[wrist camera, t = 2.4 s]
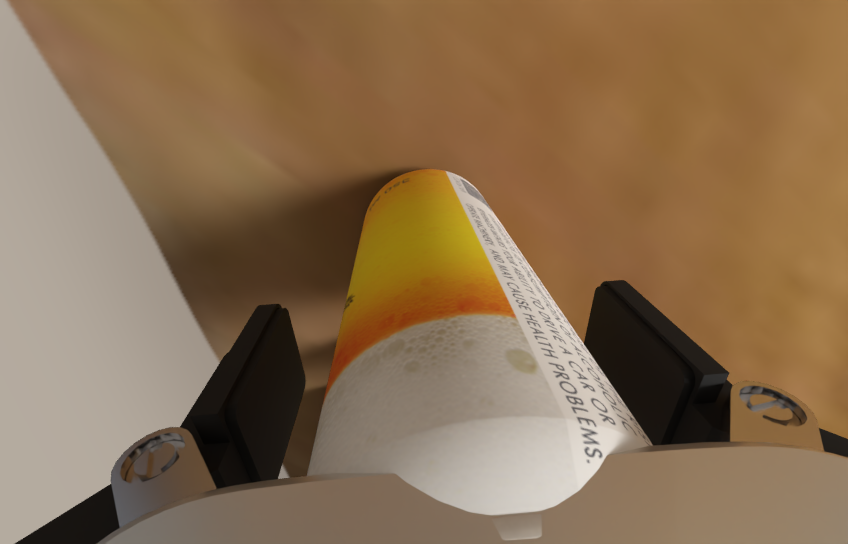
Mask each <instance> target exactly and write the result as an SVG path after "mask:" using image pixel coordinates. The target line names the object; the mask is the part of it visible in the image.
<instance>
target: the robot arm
mask: <svg viewBox="0 0 848 544" xmlns="http://www.w3.org/2000/svg"><path fill="white" fill-rule="evenodd" d="M584 345H585V347H586V348H587V350H588V351H589V352H590V354H591V355H592V357H593V358H594V360H595V361H596V363H597V364H598V366H599V367H600V369H601V370H602V371H603V373H604V374H605V376H606V377H607V379H608V380H609V382H610V383H611V385H612V386H613V387H614V389H615V390H616V392H617V393H618V395H619V396H620V398H621V399H622V401H623V402H624V404H625V405H626V406H627V408H628V409H629V411H630V412H631V414H632V415H633V417H634V418H635V420H636V421H637V422H638V424H639V425H640V427H641V428H642V430H643V431H644V433H645V434H646V436H647V437H648V439H649V440H650V441H651V443H652V444H653V446H646V447H642V448H637V449H633V450H628V451H624V452H620V453H615V454H610V455H607V456H606V458H605V459H604V461H603V463H602V465H601V466H600V468H599V469H598V470H597V472H596V473H595V474H594V475H593V476H592V477H591V478H590V479H589V480H588V481H587V483H586V484H585V485H584V486H583V487H582V488H581V489H580V490H579V491H578V492H576V493H575V494H573V495H572V496H570V497H569V498H567V499H566V500H564V501H562V502H561V503H559V504H558V505H556V506H554V507H551V508H548V509H545V510H542V511H535V512H527V513H516V514H505V515H485V514H479V513H472V512H468V511H465V510H463V509H460V508H457V507H454V506H452V505H449V504H446V503H443V502H440V501H438V500H436V499H434V498H433V497H431V496H429V495H427V494H426V493H424V492H422V491H420V490H419V489H417V488H415V487H414V486H412V485H410V484H408V483H407V482H405V481H404V480H403V479H402V478H400V477H399V476H398V475H397V474H378V473H330V474H321V475H312V476H303V477H293V478H284V479H278V476H279V473H280V469H281V466H282V463H283V459H284V456H285V453H286V449H287V446H288V442H289V439H290V436H291V432H292V429H293V426H294V422H295V419H296V416H297V412H298V409H299V406H300V402H301V399H302V396H303V392H304V389H305V381H306V380H305V373H304V370H303V366H302V362H301V358H300V354H299V350H298V347H297V343H296V339H295V335H294V331H293V328H292V324H291V320H290V316H289V312H288V310H287V309H286V308H282V307H281V306H280V305H279V304H269V305H259V306H257V308H256V309H255V311H254V312H253V314H252V316H251V317H250V319H249V321H248V322H247V324H246V325H245V327H244V329H243V330H242V332H241V334H240V335H239V337H238V338H237V340H236V342H235V343H234V345H233V347H232V348H231V350H230V352H228V353H227V354H226V355H225V356H224V357H223V359H222V360H221V362H220V364H219V365H218V367H217V369H216V370H215V372H214V373H213V375H212V377H211V378H210V380H209V381H208V383H207V385H206V386H205V388H204V390H203V391H202V393H201V394H200V396H199V397H198V399H197V401H196V402H195V404H194V405H193V407H192V409H191V410H190V412H189V414H188V415H187V417H186V418H185V420H184V421H183V423H182V425H181V426H180V427H169V428H165V429H161V430H158V431H156V432H153V433H151V434H149V435H146V436H145V437H143V438H142V439H140V440H138V441H137V442H135V443H134V444H133V445H132V446H131V447H129V448H128V449H127V450H126V451H125V452H124V453H123V454H122V455H121V457H120V458H119V459H118V460H117V461H116V463H115V465H114V467H113V469H112V472H111V484H110V485H108V486H107V487H105V488H104V489H102V490H101V491H99V492H97V493H96V494H94V495H93V496H91V497H89V498H88V499H86V500H85V501H83V502H81V503H80V504H78V505H76V506H75V507H73V508H71V509H70V510H68V511H67V512H65V513H63V514H62V515H61V516H59V517H57V518H56V519H54V520H52V521H51V522H49V523H47V524H46V525H44V526H43V527H41V528H39V529H38V530H36V531H34V532H33V533H31V534H30V535H28V536H26V537H25V538H23V539H22V540H20V541H18V542H17V543H15V544H848V439H846V438H844V437H841V436H838V435H836V434H833V433H831V432H828V431H825V430H823V429H820V428H819V427H818V423H817V419H816V417H815V415H814V413H813V412H812V411H811V410H810V409H809V408H808V407H807V405H806V404H804V403H803V402H802V401H800V400H799V399H798V398H796V397H795V396H793V395H791V394H789V393H787V392H786V391H784V390H782V389H779V388H777V387H774V386H771V385H769V384H764V383H760V382H754V381H742V382H738V383H736V384H734V385H732V384H731V383H730V382H729V381H727V380H726V379H727V377H728V375H729V372H728V371H726V370H725V369H724V368H723V367H722V366H721V365H720V364H719V363H717V362H716V361H715V360H714V359H713V358H712V357H711V356H710V355H708V354H707V353H706V352H705V351H704V350H703V349H702V348H701V347H699V346H698V345H697V344H696V343H695V342H694V341H693V340H692V339H690V338H689V337H688V336H687V335H686V334H685V333H684V332H682V331H681V330H680V329H679V328H678V327H677V326H676V325H675V324H673V323H672V322H671V321H670V320H669V319H668V318H667V317H666V316H664V315H663V314H662V313H661V312H660V311H659V310H658V309H657V308H655V307H654V306H653V305H652V304H651V303H650V302H649V301H648V300H646V299H645V298H644V297H643V296H642V295H641V294H640V293H639V292H637V291H636V290H635V289H634V288H633V287H632V286H631V285H630V284H628V283H627V282H626V281H624V280H618V281H604V282H603V283H602V284H601V286H599V287H597V288H596V290H595V294H594V299H593V303H592V308H591V313H590V317H589V322H588V327H587V332H586V336H585V341H584ZM530 514H541V520H542V536H540V537H538V538H533V539H519V540H503V539H502V538H501V536H500V534H499V532H498V530H497V528H496V526H495V524H494V522H493V520H492V519H493V518H499V517H508V516H519V515H530Z"/></svg>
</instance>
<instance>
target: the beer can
mask: <svg viewBox="0 0 848 544" xmlns="http://www.w3.org/2000/svg"><path fill="white" fill-rule="evenodd" d="M646 446H653V444H652V443H651V441H650V440H649V439H648V437H647V436H646V434H645V433H644V431H643V430H642V428H641V427H640V425H639V424H638V422H637V421H636V420H635V418H634V417H633V415H632V414H631V412H630V411H629V409H628V408H627V406H626V405H625V404H624V402H623V401H622V399H621V398H620V396H619V395H618V393H617V392H616V390H615V389H614V387H613V386H612V385H611V383H610V382H609V380H608V379H607V377H606V376H605V374H604V373H603V371H602V370H601V369H600V367H599V366H598V364H597V363H596V361H595V360H594V358H593V357H592V355H591V354H590V352H589V351H588V350H587V348H586V347H585V345H584V344H583V342H582V341H581V339H580V338H579V336H578V335H577V334H576V332H575V331H574V329H573V328H572V326H571V325H570V323H569V322H568V320H567V319H566V318H565V316H564V315H563V313H562V312H561V310H560V309H559V307H558V306H557V304H556V303H555V301H554V300H553V299H552V297H551V296H550V294H549V293H548V291H547V290H546V288H545V287H544V285H543V284H542V283H541V281H540V280H539V278H538V277H537V275H536V274H535V272H534V271H533V269H532V268H531V266H530V265H529V264H528V262H527V261H526V259H525V258H524V256H523V255H522V253H521V252H520V250H519V249H518V248H517V246H516V245H515V243H514V242H513V240H512V239H511V237H510V236H509V234H508V233H507V231H506V230H505V229H504V227H503V226H502V224H501V223H500V221H499V220H498V218H497V217H496V215H495V214H494V213H493V211H492V210H491V208H490V207H489V205H488V204H487V202H486V201H485V199H484V198H483V196H482V195H481V194H480V193H479V191H478V190H477V189H476V188H475V187H474V186H473V185H472V184H471V183H469V182H468V181H467V180H465V179H464V178H462V177H460V176H458V175H456V174H454V173H451V172H447V171H443V170H438V169H421V170H416V171H411V172H408V173H405V174H403V175H400V176H398V177H396V178H395V179H393V180H391V181H390V182H389V183H387V184H386V185H385V186H384V187H383V188H382V189H381V190H380V191H379V192H378V193H377V194H376V195H375V197H374V198H373V200H372V201H371V203H370V205H369V207H368V210H367V212H366V216H365V219H364V224H363V228H362V233H361V237H360V242H359V246H358V251H357V255H356V259H355V264H354V268H353V273H352V277H351V282H350V286H349V290H348V295H347V299H346V304H345V308H344V313H343V317H342V322H341V326H340V330H339V335H338V339H337V344H336V348H335V353H334V357H333V361H332V366H331V370H330V375H329V379H328V384H327V388H326V393H325V397H324V401H323V406H322V410H321V415H320V419H319V424H318V428H317V432H316V437H315V441H314V446H313V450H312V455H311V459H310V464H309V468H308V472H307V476H312V475H321V474H330V473H378V474H397V475H398V476H399V477H400V478H402V479H403V480H404V481H405V482H407V483H408V484H410V485H412V486H414V487H415V488H417V489H419V490H420V491H422V492H424V493H426V494H427V495H429V496H431V497H433V498H434V499H436V500H438V501H440V502H443V503H446V504H449V505H452V506H454V507H457V508H460V509H463V510H465V511H468V512H472V513H479V514H485V515H505V514H516V513H527V512H535V511H542V510H545V509H548V508H551V507H554V506H556V505H558V504H559V503H561V502H562V501H564V500H566V499H567V498H569V497H570V496H572V495H573V494H575V493H576V492H578V491H579V490H580V489H581V488H582V487H583V486H584V485H585V484H586V483H587V481H588V480H589V479H590V478H591V477H592V476H593V475H594V474H595V473H596V472H597V470H598V469H599V468H600V466H601V465H602V463H603V461H604V459H605V458H606V456H607V455H610V454H615V453H620V452H624V451H628V450H633V449H637V448H642V447H646ZM492 520H493V522H494V524H495V526H496V528H497V530H498V532H499V534H500V536H501V538H502V539H503V540H519V539H533V538H538V537H540V536H542V520H541V514H530V515H519V516H508V517H499V518H493V519H492Z"/></svg>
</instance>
